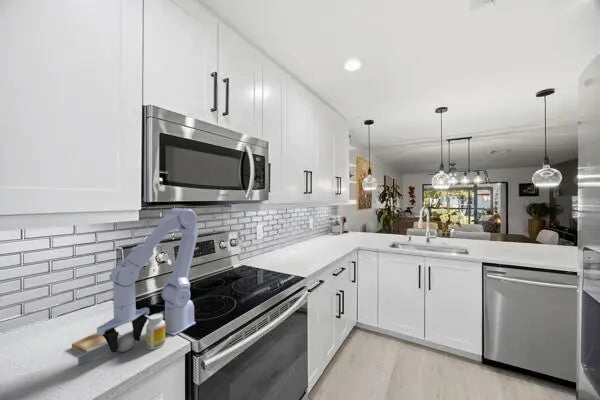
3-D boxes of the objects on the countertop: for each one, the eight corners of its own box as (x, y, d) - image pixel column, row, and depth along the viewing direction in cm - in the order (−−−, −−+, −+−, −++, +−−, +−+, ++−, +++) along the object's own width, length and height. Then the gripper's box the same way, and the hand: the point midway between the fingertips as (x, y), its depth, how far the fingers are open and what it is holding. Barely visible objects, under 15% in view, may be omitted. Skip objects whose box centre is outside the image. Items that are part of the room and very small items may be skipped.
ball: (129, 344, 83) (128, 329, 83) (138, 348, 81) (137, 333, 81) (112, 352, 79) (112, 337, 79) (122, 356, 77) (121, 341, 76)
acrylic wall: (134, 336, 88) (134, 329, 87) (136, 336, 87) (135, 329, 87) (78, 364, 73) (77, 356, 73) (79, 365, 73) (79, 356, 73)
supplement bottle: (143, 350, 80) (142, 320, 79) (151, 340, 85) (150, 312, 85) (161, 349, 80) (160, 319, 80) (168, 339, 86) (167, 311, 85)
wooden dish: (105, 333, 90) (105, 328, 90) (121, 339, 85) (121, 335, 85) (71, 348, 81) (71, 343, 81) (87, 356, 77) (87, 351, 77)
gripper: (139, 293, 88) (140, 331, 88) (90, 310, 75) (91, 355, 75) (153, 296, 85) (153, 336, 85) (104, 315, 72) (105, 362, 72)
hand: (125, 345), depth 80 cm, fingers open, 6 cm apart
